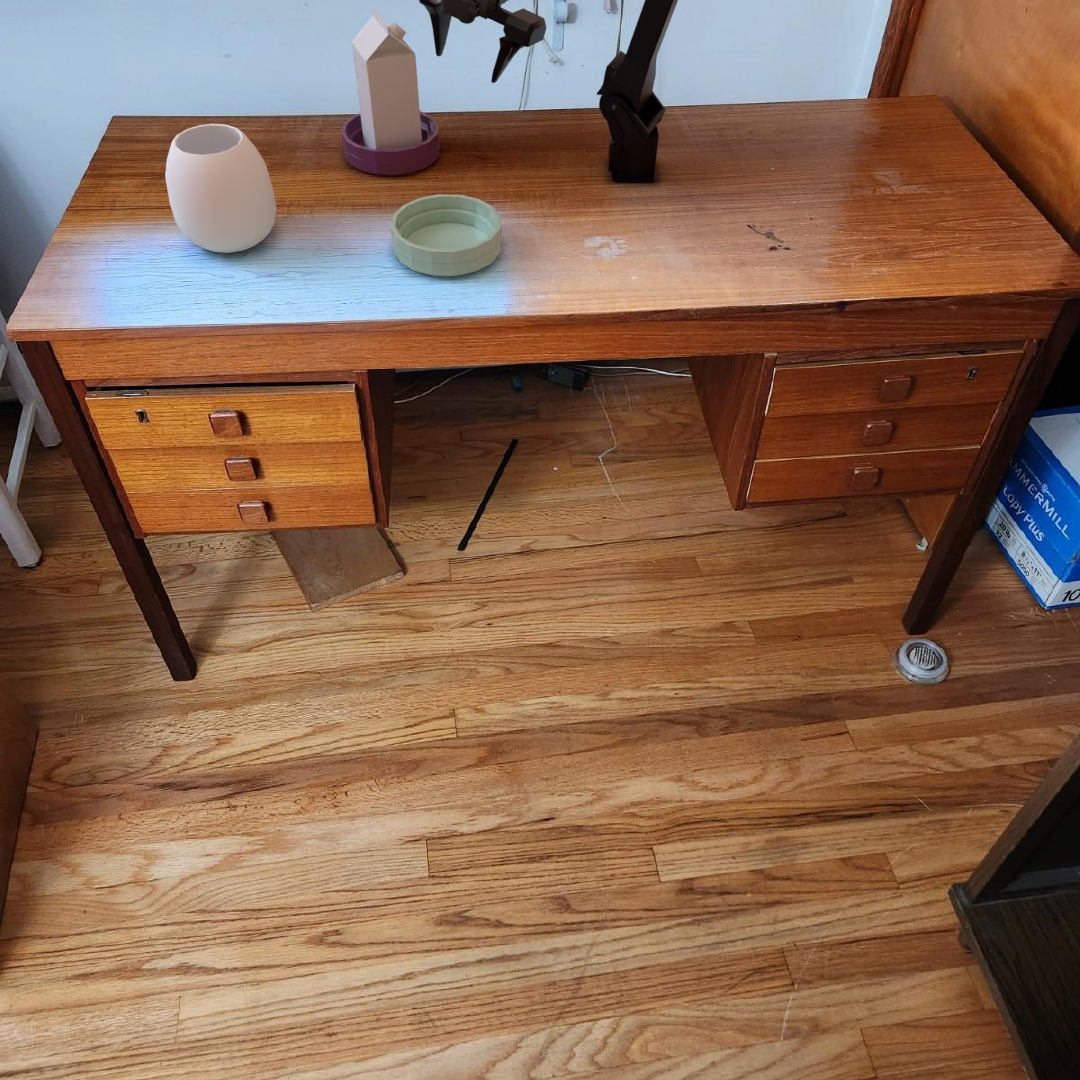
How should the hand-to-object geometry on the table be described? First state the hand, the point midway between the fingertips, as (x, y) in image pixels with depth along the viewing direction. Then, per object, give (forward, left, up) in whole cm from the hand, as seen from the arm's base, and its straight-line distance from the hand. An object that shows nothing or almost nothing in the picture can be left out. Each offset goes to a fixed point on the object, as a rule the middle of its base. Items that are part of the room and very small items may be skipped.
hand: (466, 68), depth 139 cm
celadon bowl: (+1, +29, -11) cm, 32 cm away
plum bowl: (+11, +3, -11) cm, 16 cm away
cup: (+30, +27, -12) cm, 43 cm away
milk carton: (+11, +4, -11) cm, 16 cm away
